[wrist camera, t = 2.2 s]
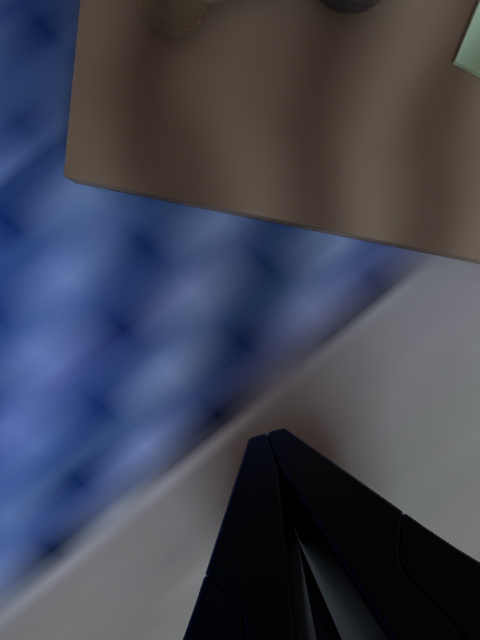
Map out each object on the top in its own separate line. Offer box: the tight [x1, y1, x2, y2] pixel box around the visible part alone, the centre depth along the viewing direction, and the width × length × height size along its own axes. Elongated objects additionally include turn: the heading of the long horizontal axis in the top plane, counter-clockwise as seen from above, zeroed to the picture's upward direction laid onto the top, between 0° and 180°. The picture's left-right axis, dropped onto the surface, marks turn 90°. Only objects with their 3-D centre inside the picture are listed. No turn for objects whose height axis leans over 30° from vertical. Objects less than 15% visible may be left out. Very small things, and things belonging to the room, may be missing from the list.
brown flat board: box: [63, 0, 480, 264], centre depth 17 cm, size 24×18×2 cm
